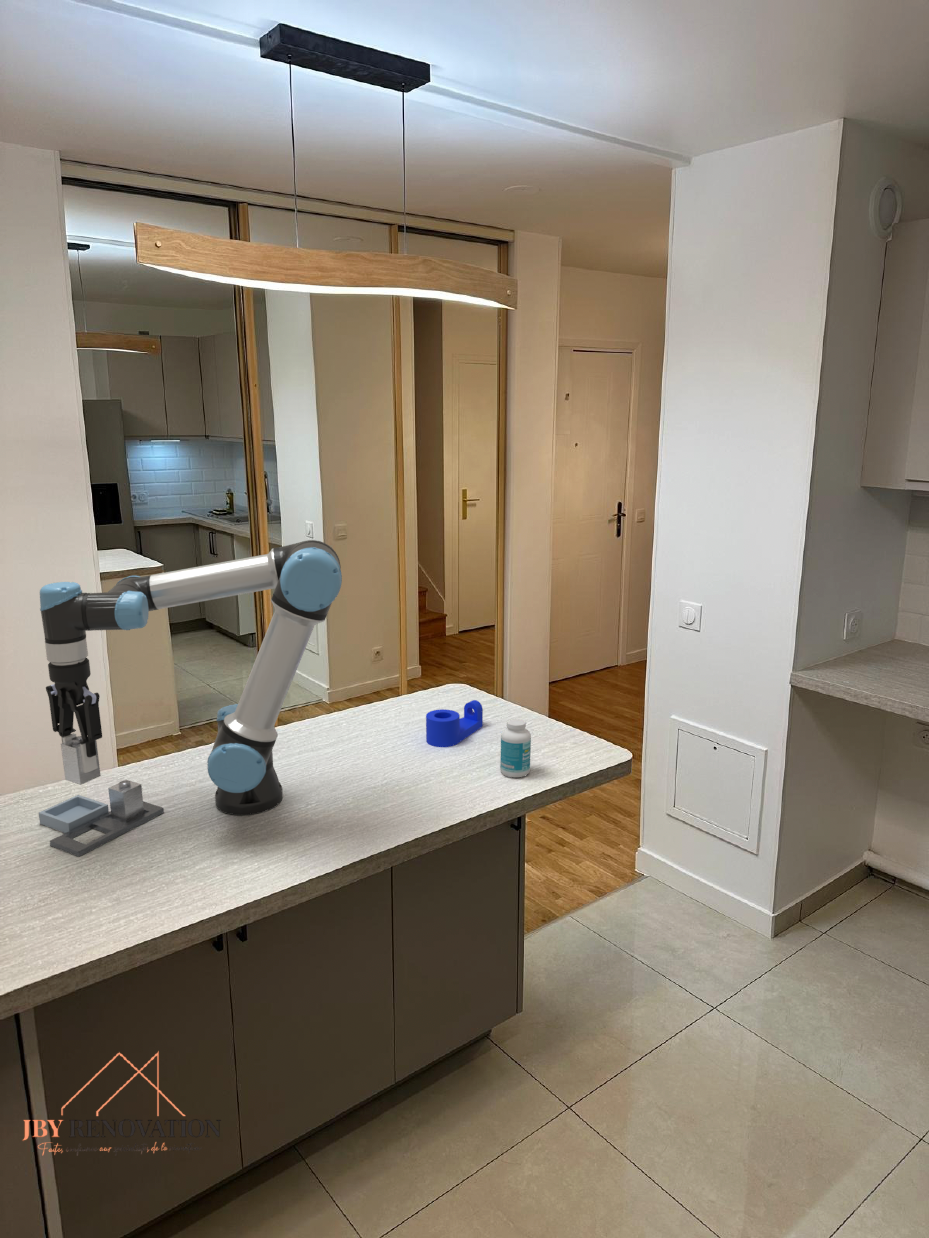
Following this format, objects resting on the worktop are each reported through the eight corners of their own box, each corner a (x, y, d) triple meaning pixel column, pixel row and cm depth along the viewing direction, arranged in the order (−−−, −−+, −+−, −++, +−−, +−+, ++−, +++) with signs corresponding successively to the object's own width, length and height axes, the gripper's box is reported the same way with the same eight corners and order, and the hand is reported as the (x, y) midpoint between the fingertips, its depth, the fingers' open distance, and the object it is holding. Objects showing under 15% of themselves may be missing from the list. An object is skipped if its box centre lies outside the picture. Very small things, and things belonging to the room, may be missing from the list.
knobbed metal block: (100, 775, 178) (95, 736, 176) (80, 784, 174) (75, 744, 172) (85, 771, 180) (80, 732, 178) (65, 779, 176) (60, 740, 174)
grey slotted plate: (136, 803, 196) (135, 798, 196) (163, 812, 192) (163, 807, 192) (50, 845, 177) (49, 840, 177) (78, 856, 173) (78, 851, 173)
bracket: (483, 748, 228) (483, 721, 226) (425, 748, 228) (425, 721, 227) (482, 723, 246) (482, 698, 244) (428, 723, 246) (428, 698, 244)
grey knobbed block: (144, 817, 190) (140, 780, 188) (126, 826, 186) (122, 789, 184) (129, 812, 192) (125, 776, 190) (111, 821, 188) (107, 784, 186)
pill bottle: (528, 780, 209) (529, 728, 205) (498, 777, 210) (498, 726, 207) (531, 767, 216) (533, 717, 212) (502, 765, 217) (503, 715, 214)
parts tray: (109, 815, 190) (108, 804, 190) (69, 834, 182) (68, 823, 181) (79, 805, 195) (78, 794, 194) (39, 823, 187) (38, 812, 186)
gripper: (114, 661, 170) (126, 769, 175) (56, 649, 178) (69, 752, 184) (81, 671, 163) (94, 783, 169) (22, 658, 172) (37, 765, 177)
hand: (81, 767), depth 176 cm, fingers closed on knobbed metal block, 5 cm apart
